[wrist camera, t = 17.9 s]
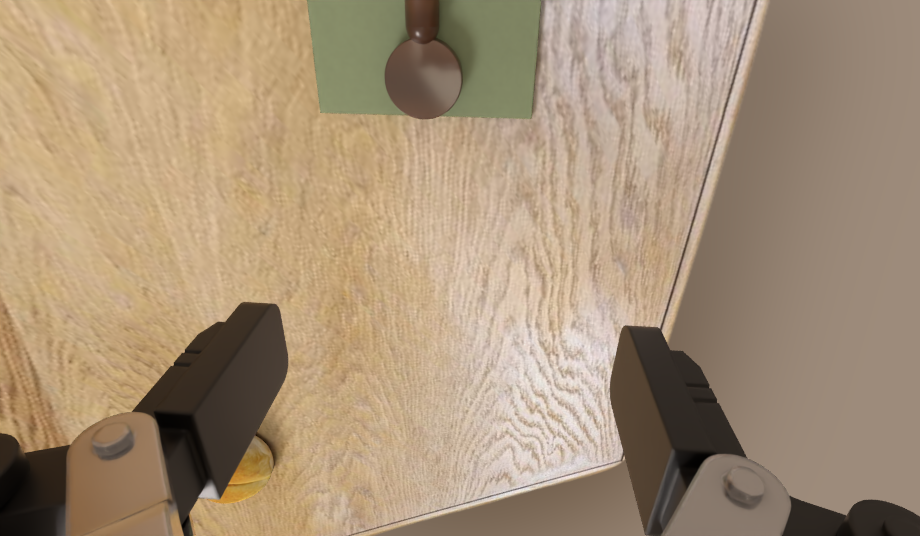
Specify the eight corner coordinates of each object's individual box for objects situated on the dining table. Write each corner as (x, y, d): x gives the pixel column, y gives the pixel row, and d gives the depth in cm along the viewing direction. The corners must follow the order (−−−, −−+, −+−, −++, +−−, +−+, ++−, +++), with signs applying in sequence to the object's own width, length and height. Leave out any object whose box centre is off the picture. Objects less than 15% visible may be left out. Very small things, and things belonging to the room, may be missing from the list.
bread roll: (186, 466, 53) (164, 500, 50) (205, 412, 49) (182, 445, 46) (262, 493, 55) (246, 528, 51) (286, 443, 51) (271, 477, 47)
